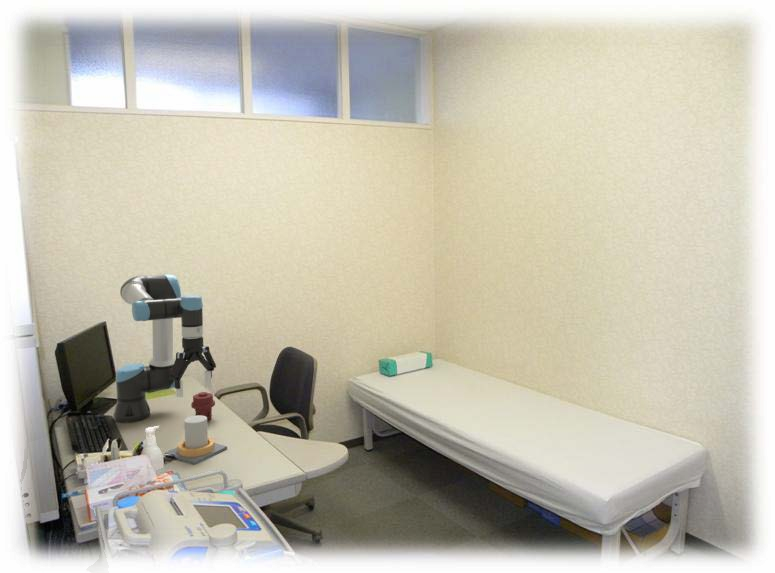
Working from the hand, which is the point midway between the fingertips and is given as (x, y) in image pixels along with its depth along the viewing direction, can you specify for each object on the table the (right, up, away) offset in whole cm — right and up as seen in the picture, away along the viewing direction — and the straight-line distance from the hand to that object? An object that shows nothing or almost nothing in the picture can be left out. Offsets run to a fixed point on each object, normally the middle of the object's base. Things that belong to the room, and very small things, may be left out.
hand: (194, 391), depth 206 cm
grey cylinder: (0, -23, +3) cm, 23 cm away
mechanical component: (-9, -20, +37) cm, 43 cm away
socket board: (0, -24, +3) cm, 24 cm away
